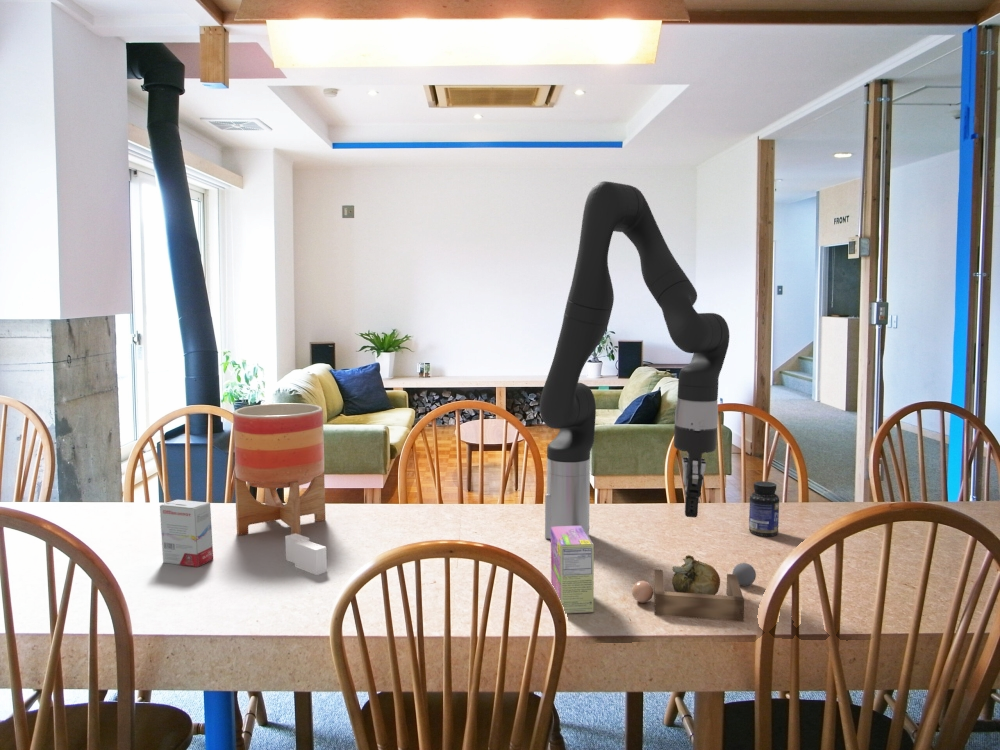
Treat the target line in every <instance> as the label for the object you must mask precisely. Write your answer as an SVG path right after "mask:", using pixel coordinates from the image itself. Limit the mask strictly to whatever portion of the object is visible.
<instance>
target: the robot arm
mask: <svg viewBox="0 0 1000 750" xmlns="http://www.w3.org/2000/svg"><path fill="white" fill-rule="evenodd" d="M614 232H615V233H623V234H624V235H625V236H626V237H627V239H628V240H629V241H630V242H631V243H632V245H634V246H633V247H635V249H636V251H637V252H638V256H639V260H640V267H641V268H640V269H641V270H640V271H641V274H642V275H641V276H642V278H643V281H644V283H645V286H646V287H647V289H648V291H649V292H650V294H651V295H652V297H653V298H654V300H655V301H656V303H657V305H658V306H659V307H660V309H661V311H662V315H663V318H664V322H665V325H666V329H667V332H668V334H669V336H670V339H671V340H672V342H673V343H674V344H675V346H676V347H678V349H679V350H681V351H683V352H685V353H687V354H693V355H692V358H691V361H690V363H689V364H687V365H685V366H683V367H682V368H680V371H679V374H678V382H677V400H676V405H675V412H674V413H675V414H674V415H675V416H674V430H673V431H674V434H673V447H674V448H675V449H676V450H678V451H681V452H686V456H683V457H682V462H681V464H682V470H683V471H682V481H683V486H684V490H683V491H684V495H685V499H684V503H685V504H684V515H685V517H687V518H697V517H698V514H699V513H698V511H699V499H700V498H701V496H702V492H701V491H702V487H703V486H704V477H705V476H704V474H705V471H706V468H707V467H706V466H707V464H706V459H705V458H704V457H702V455H703V454H704V453H713V452H715V451H716V450H717V439H718V438H717V437H718V424H719V423H718V422H719V420H718V419H719V406H718V405H719V404H718V399H719V378H720V374H721V371H722V369H723V365H724V363H725V359H726V355H727V352H728V348H729V343H730V329H729V326H728V323H727V321H726V319H725V318H724V317H723V316H721V315H720V314H719V313H715V312H701V313H698V312H697V310H696V309H695V308H694V305H695V303H696V302H697V300H698V292H697V289H696V288H695V287H694V285H693V283H692V282H691V280H690V279H689V277H688V276H687V274H686V272H685V271H684V270H683V269H682V267H681V266H680V265H679V263H678V261H677V260H676V259H675V257H674V255H673V253H672V252H671V249H670V248H669V246H668V245H667V242H666V240H665V238H664V236H663V234H662V232H661V230H660V228H659V225H658V224H657V221H656V219H655V217H654V214H653V213H652V210H651V208H650V205H649V204H648V201H647V199H646V197H645V196H644V195H643V193H642V191H641V190H640V189H638V188H637V187H635V186H632V185H630V184H625V183H621V182H620V183H619V182H614V181H613V182H612V181H599V182H598V183H596V184H595V185H594V186H593V187H591V189H590V191H589V192H588V194H587V198H586V200H585V203H584V209H583V215H582V221H581V229H580V236H579V244H578V252H577V256H576V261H575V267H574V271H573V275H572V279H571V280H572V281H571V285H570V288H569V293H568V297H567V299H566V305H565V309H564V313H563V317H562V318H563V319H562V324H561V328H560V333H559V336H558V340H557V344H556V347H555V350H554V352H555V353H554V356H553V359H552V362H551V365H550V369H549V371H548V375H547V376H546V377H547V378H546V379H545V382H544V386H543V388H542V391H541V395H540V399H539V414H540V417H541V420H542V421H543V424H545V425H546V426H547V427H548V428H551V429H559V431H558V433H557V435H556V436H555V437H554V438H553V440H551V441H550V442H549V444H548V445H547V448H546V493H545V496H544V497H545V498H544V500H545V501H544V502H545V503H544V538H545V539H549V540H551V527H556V526H582V528H583V529H584V531H585V532H586V534H587V535H588V537H589V538H590V505H591V504H590V489H591V485H590V483H591V482H590V481H591V472H590V471H591V451H592V448H593V446H594V443H595V433H596V431H595V429H596V414H597V412H596V411H597V408H596V407H597V406H596V398H595V396H594V393H593V391H592V389H591V388H590V387H589V386H588V385H587V384H585V383H583V382H579V380H580V376H581V373H582V371H583V369H584V367H585V364H586V363H587V362H588V360H589V358H590V357H591V356H592V354H593V353H594V351H595V350H596V348H597V347H598V346H599V345H600V342H601V341H602V340H603V338H604V336H605V334H606V331H607V330H608V326H609V322H610V320H611V319H610V318H611V315H612V311H613V307H614V302H615V301H614V300H615V296H614V295H615V294H614V288H613V283H612V279H611V275H610V270H609V263H608V257H609V251H610V245H611V241H612V237H613V234H614Z"/></svg>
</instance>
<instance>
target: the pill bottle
mask: <svg viewBox="0 0 1000 750" xmlns="http://www.w3.org/2000/svg"><path fill="white" fill-rule="evenodd" d="M753 489H754V492H752V493H751V494H750V495H749V511H748V512H749V513H748V515H749V516H748V518H749V519H748V530H749V532H750V533H751V534H753V535H755V536H760V537H770V538H771V537H776V536H777V535H778V534H779V521H780V520H779V518H780V517H779V516H780V497H779V496H778V494H776V491H777V484H776V483H775V482H772V481H765V480H763V481H761V480H760V481H755V482H753Z"/></svg>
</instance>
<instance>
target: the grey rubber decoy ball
mask: <svg viewBox="0 0 1000 750" xmlns="http://www.w3.org/2000/svg"><path fill="white" fill-rule="evenodd" d="M756 573H757V572H756V569H755V568H754V567H753V566H752V564H749V563H747V562H741V563H737V564H736V565H735V566H734V568H733V570H732V574H736V576H737V579H738V583H739V586H744V587H747V586H750V585H752V584H753V583H754V582H755V580H756V577H757V574H756Z"/></svg>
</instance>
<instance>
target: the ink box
mask: <svg viewBox="0 0 1000 750" xmlns="http://www.w3.org/2000/svg"><path fill="white" fill-rule="evenodd" d="M211 511H212V510H211V502H205V501H195V500H188V499H187V500H186V499H175V500H170V501H168V502H165V503H162V504H160V505H159V514H160V515H159V517H160V530H161V531H160V533H161V547H162V548H161V549H162V562H163V563H164V564H169V565H170V564H172V565H178V566H179V565H181V566H186V567H194V568H198V567H201V566H203V565H205V564H207V563H209V562H211V561H212V560H214V547H213V545H214V544H213V532H212V531H213V530H212V526H213V525H212V513H211Z"/></svg>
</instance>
